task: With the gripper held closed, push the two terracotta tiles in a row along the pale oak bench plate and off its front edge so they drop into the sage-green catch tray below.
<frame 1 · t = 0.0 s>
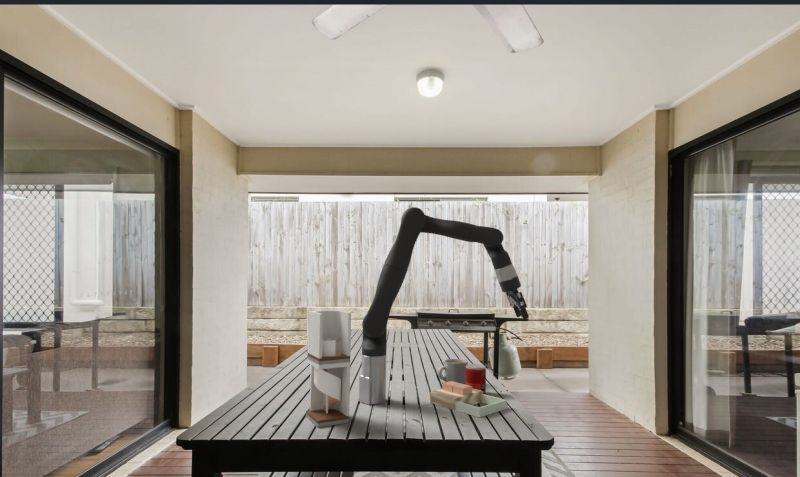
hand: (522, 317, 177), 31 cm above the table, tool tilted 20°, fingers open, 8 cm apart
tile front: (462, 392, 171), point 4 cm above the table, touching bench plate
catch tray: (480, 409, 165), on the table
coffee mug: (452, 385, 200), on the table
canned food: (475, 394, 185), on the table
bench plate: (456, 402, 173), on the table
display case: (327, 420, 151), on the table
tile back: (451, 390, 175), point 4 cm above the table, touching bench plate
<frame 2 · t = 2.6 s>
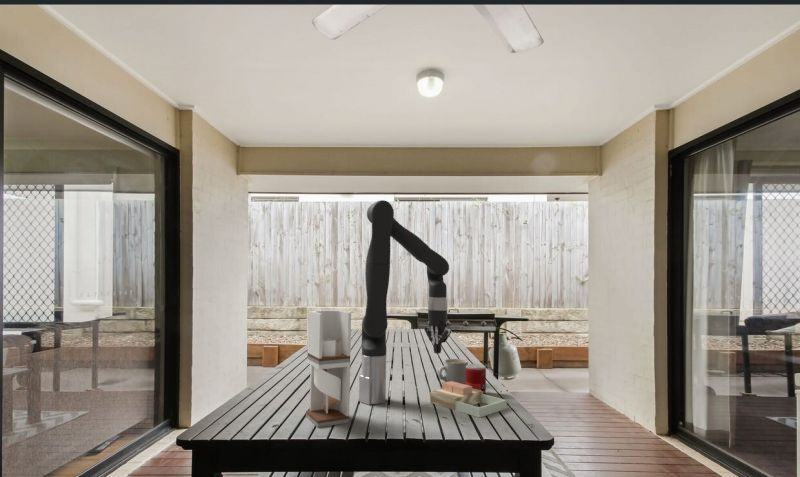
hand: (437, 353, 182), 17 cm above the table, tool pointing down, fingers closed
nothing on the table moved.
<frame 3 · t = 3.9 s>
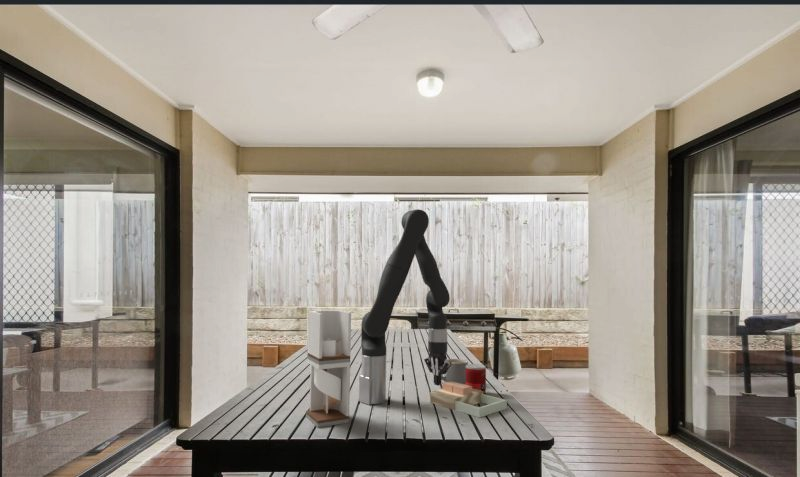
hand: (437, 384, 181), 5 cm above the table, tool pointing down, fingers closed
nothing on the table moved.
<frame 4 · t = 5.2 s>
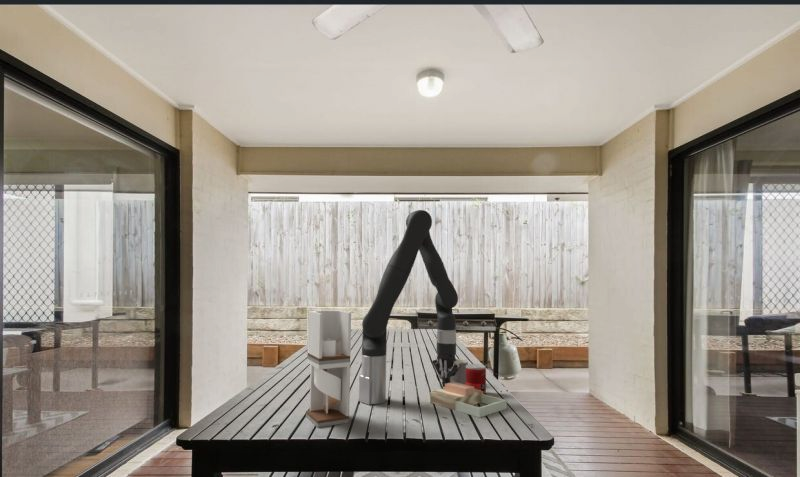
hand: (446, 386, 178), 5 cm above the table, tool pointing down, fingers closed
tile front: (464, 393, 171), point 4 cm above the table, touching tile back
tile back: (454, 390, 174), point 4 cm above the table, touching gripper, tile front
everything else where it was.
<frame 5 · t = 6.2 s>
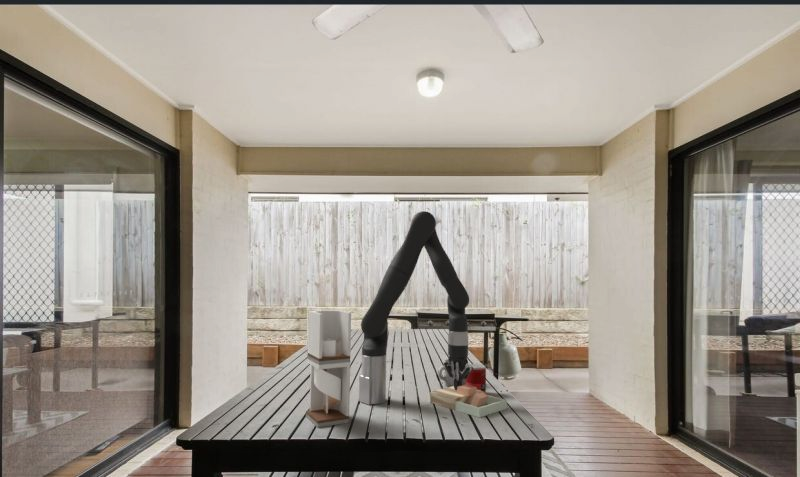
hand: (457, 389, 173), 5 cm above the table, tool pointing down, fingers closed
tile front: (476, 398, 166), point 3 cm above the table, tilted 116°
tile back: (466, 393, 170), point 4 cm above the table, touching bench plate, gripper
everything else where it was.
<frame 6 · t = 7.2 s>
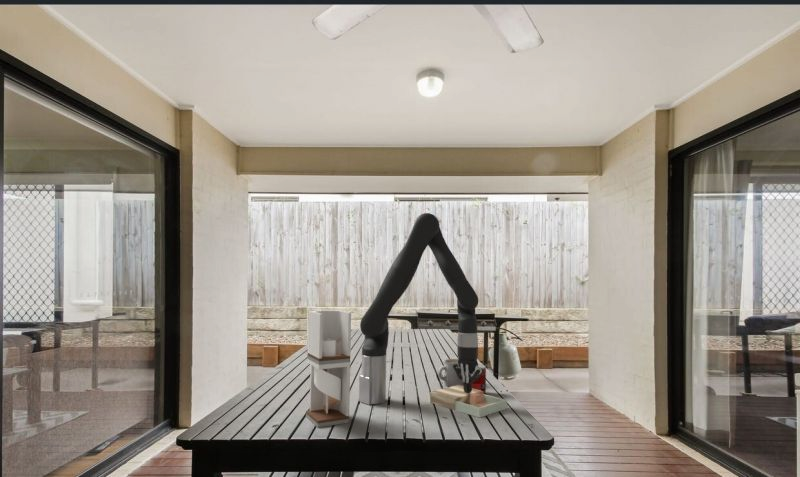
hand: (467, 392, 170), 5 cm above the table, tool pointing down, fingers closed
tile front: (486, 404, 164), point 2 cm above the table, tilted 180°
tile back: (474, 400, 167), point 2 cm above the table, tilted 91°
everything else where it was.
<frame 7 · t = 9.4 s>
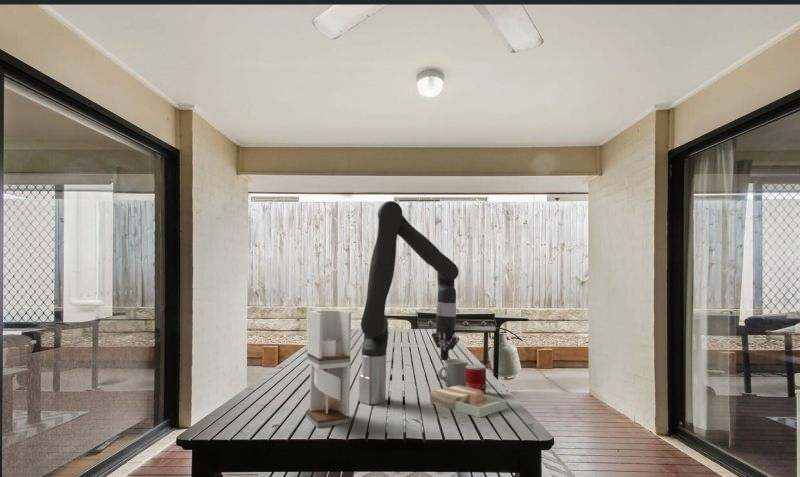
hand: (444, 360, 176), 15 cm above the table, tool pointing down, fingers closed
nothing on the table moved.
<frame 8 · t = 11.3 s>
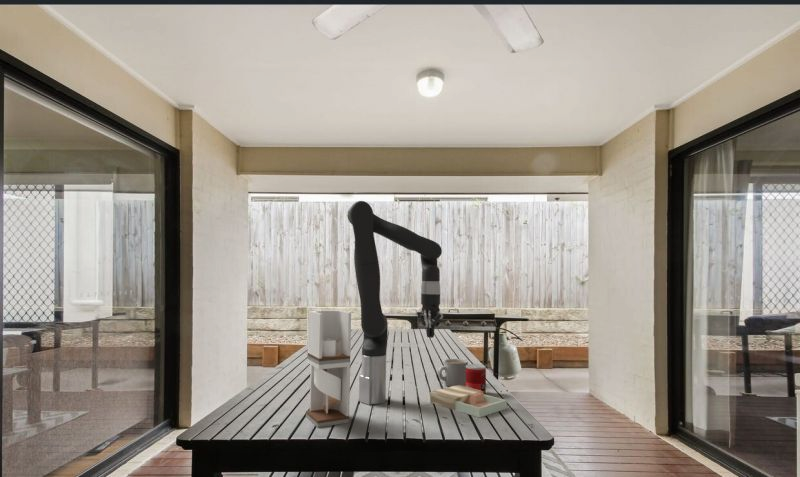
hand: (430, 337, 181), 23 cm above the table, tool pointing down, fingers closed
nothing on the table moved.
at the end: tile front inside the target area on the catch tray (1.9 cm from its centre), point 2.2 cm above the catch tray's base; tile back inside the target area on the catch tray (3.4 cm from its centre), point 2.4 cm above the catch tray's base; canned food moved 0.2 cm from its start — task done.
